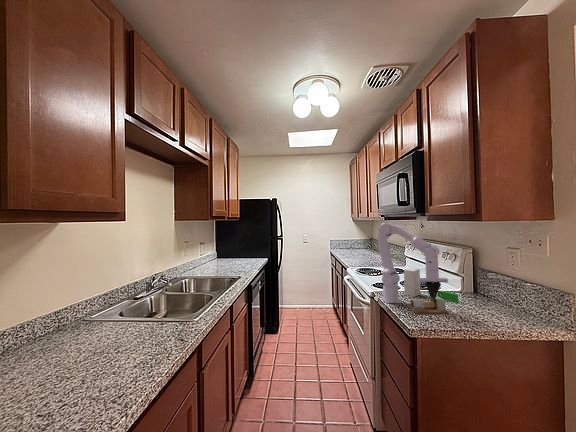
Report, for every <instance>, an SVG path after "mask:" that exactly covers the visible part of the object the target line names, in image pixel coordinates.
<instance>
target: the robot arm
mask: <svg viewBox="0 0 576 432" xmlns="http://www.w3.org/2000/svg"><path fill="white" fill-rule="evenodd" d="M392 235H398V236H400V237H401V238H404V239H406V240H407V241H408V242H410V244H411V246H412V247H413V248H414V249H417V250H418V251H419V252H421V253H422V254H423V256H424V257H425V259H424V261H425V277H420V278H417V282H418V283H420V284H422V283H424V285H425V286H426V289H427V291H428V294H429V298H431V297H433V293H435V297H438V291H440V287H441V286H442V283H447V284H448V283H449V278H446V277H440V276H439V273H440V272H439V255H440V249H439V247H437V246H436V245H434V244H432V243H431V242H428V241H426V240H424V237H422V236H414V235H412V233H410V232H408V231H407V230H406V229H405V228H403V227H401V226H400V225H399V224H396V223H395V222H392V221H391V222H383V223H381V224H380V225H379V226H378V232H377V237H376V240H377V244H378V248H379V254H380V258H381V263H382V267H383V269H382V272H381V274H382V276H381V282H382V284H383V286H382V297H381V300H382V301H384V302H385V303H386V304H401V303H402V301H400V300H399V282H400V275H399V273H398V272H397V271H398V270H397V269H396V268H395V266H394V263H393V258H392V254H391V251H390V246H389V242H388V241H389V239H390V237H391V236H392Z"/></svg>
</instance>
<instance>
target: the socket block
mask: <svg viewBox="0 0 576 432" xmlns="http://www.w3.org/2000/svg"><path fill="white" fill-rule="evenodd" d="M435 300H436V302H437V310H446V300H443V299H442V298H440V297H438V296H436V297H435Z"/></svg>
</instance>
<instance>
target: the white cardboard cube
mask: <svg viewBox="0 0 576 432" xmlns="http://www.w3.org/2000/svg"><path fill="white" fill-rule="evenodd" d="M424 301H425V300H424V299H422V298H410V304H411V307H412V308H413V309H424Z"/></svg>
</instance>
